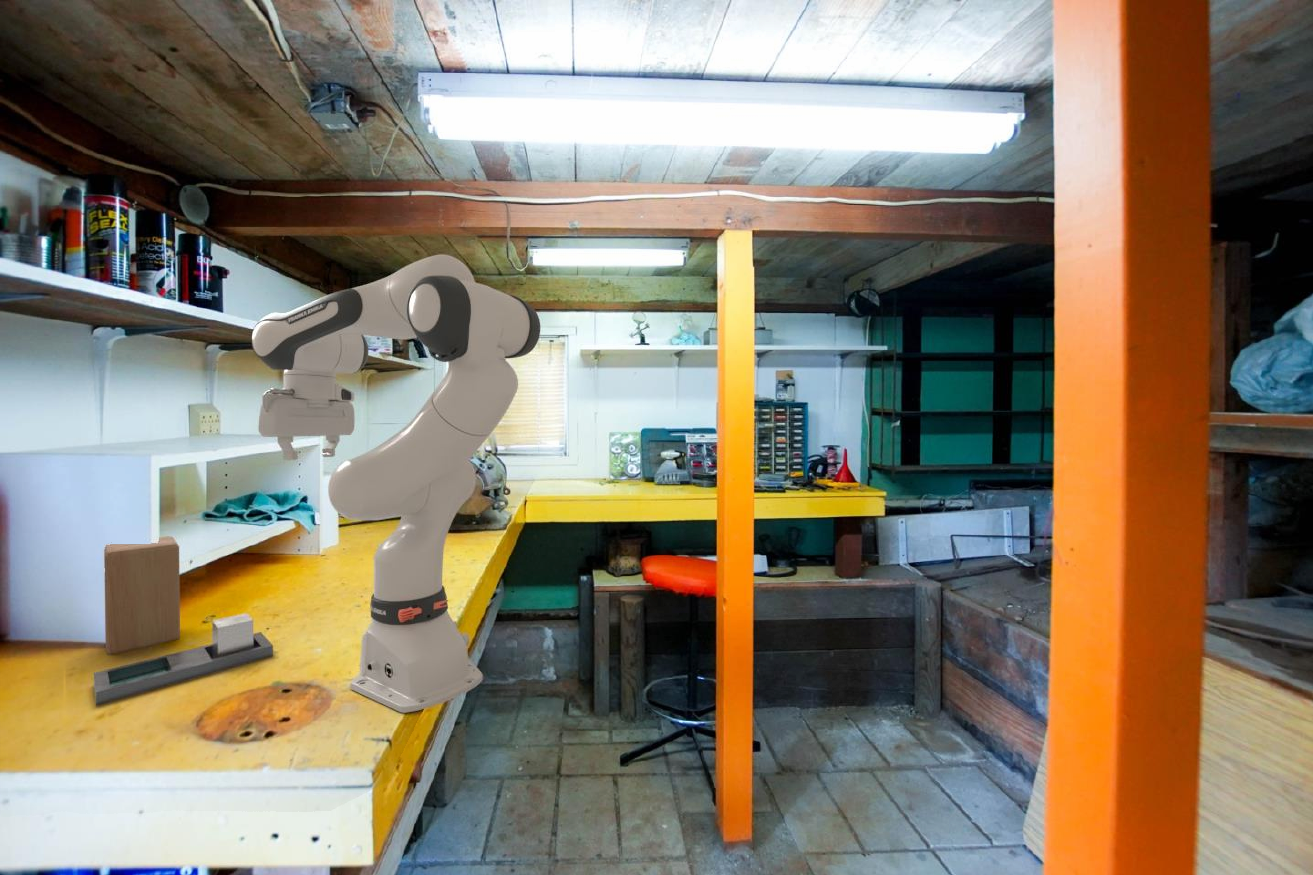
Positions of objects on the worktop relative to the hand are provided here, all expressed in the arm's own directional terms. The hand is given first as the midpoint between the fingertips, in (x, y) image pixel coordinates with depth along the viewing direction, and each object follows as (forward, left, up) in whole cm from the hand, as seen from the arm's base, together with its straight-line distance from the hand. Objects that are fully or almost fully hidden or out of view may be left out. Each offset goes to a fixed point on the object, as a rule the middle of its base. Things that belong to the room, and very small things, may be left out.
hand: (310, 458), depth 103 cm
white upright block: (-3, +13, -36) cm, 39 cm away
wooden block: (+20, +23, -37) cm, 48 cm away
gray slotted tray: (-3, +19, -37) cm, 41 cm away
